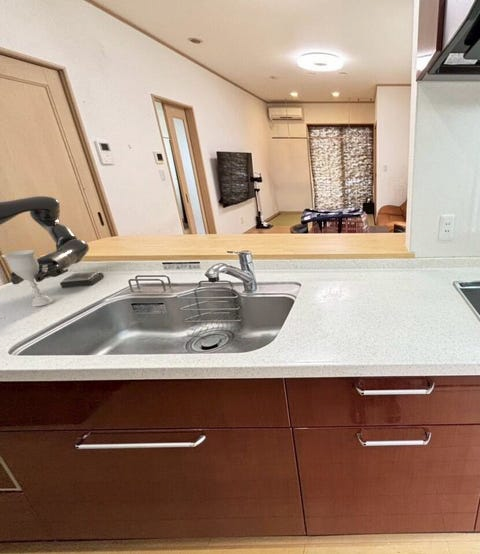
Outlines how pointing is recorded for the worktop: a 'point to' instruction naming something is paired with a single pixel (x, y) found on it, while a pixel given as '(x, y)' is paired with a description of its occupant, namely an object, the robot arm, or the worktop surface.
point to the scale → (82, 279)
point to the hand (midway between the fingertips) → (25, 280)
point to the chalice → (27, 271)
